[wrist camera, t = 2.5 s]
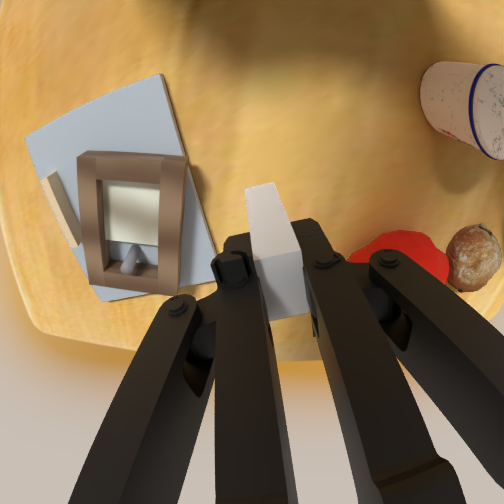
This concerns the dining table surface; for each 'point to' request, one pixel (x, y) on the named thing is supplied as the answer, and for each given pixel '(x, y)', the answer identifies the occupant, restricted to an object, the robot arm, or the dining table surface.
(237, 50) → the dining table surface
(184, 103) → the dining table surface
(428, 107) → the teacup with lid
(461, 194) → the dining table surface
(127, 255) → the wall panel
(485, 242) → the bread roll
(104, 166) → the walnut frame
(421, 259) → the tomato
